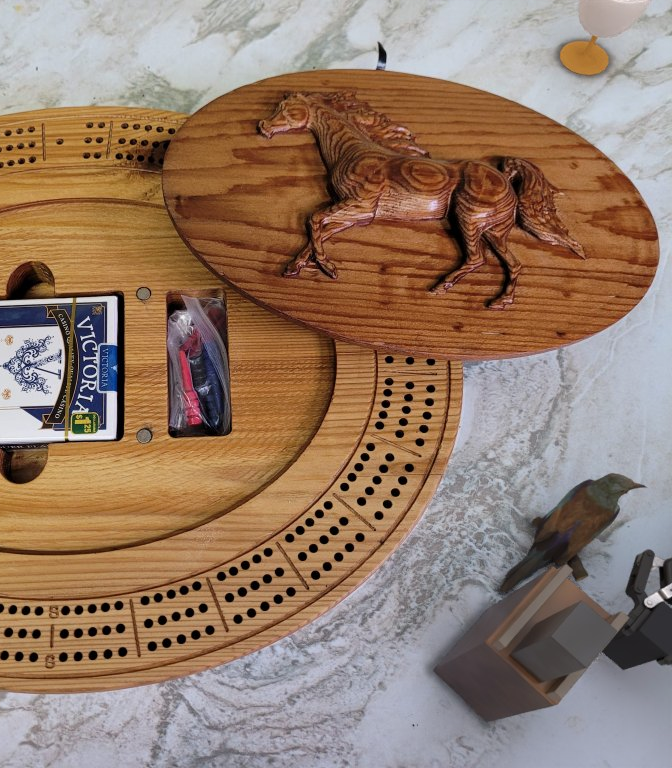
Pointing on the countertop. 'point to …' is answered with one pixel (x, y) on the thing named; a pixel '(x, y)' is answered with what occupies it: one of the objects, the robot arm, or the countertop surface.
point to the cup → (600, 32)
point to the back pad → (643, 640)
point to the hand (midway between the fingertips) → (644, 647)
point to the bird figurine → (572, 527)
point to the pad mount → (554, 634)
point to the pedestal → (490, 667)
